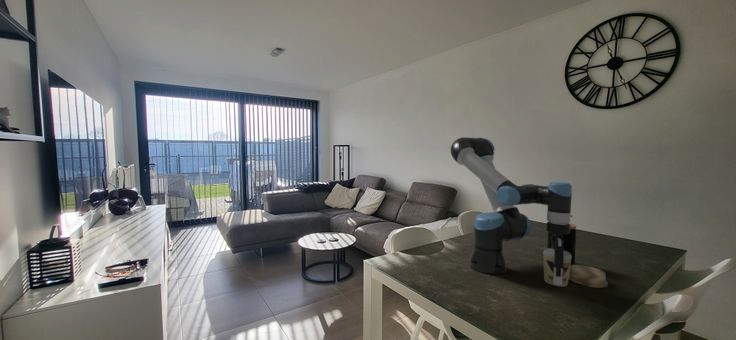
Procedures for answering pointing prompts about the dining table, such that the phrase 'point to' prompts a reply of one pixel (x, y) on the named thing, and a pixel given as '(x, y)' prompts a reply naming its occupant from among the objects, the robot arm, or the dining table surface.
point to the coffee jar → (567, 242)
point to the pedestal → (588, 276)
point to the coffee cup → (549, 270)
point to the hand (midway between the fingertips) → (555, 278)
